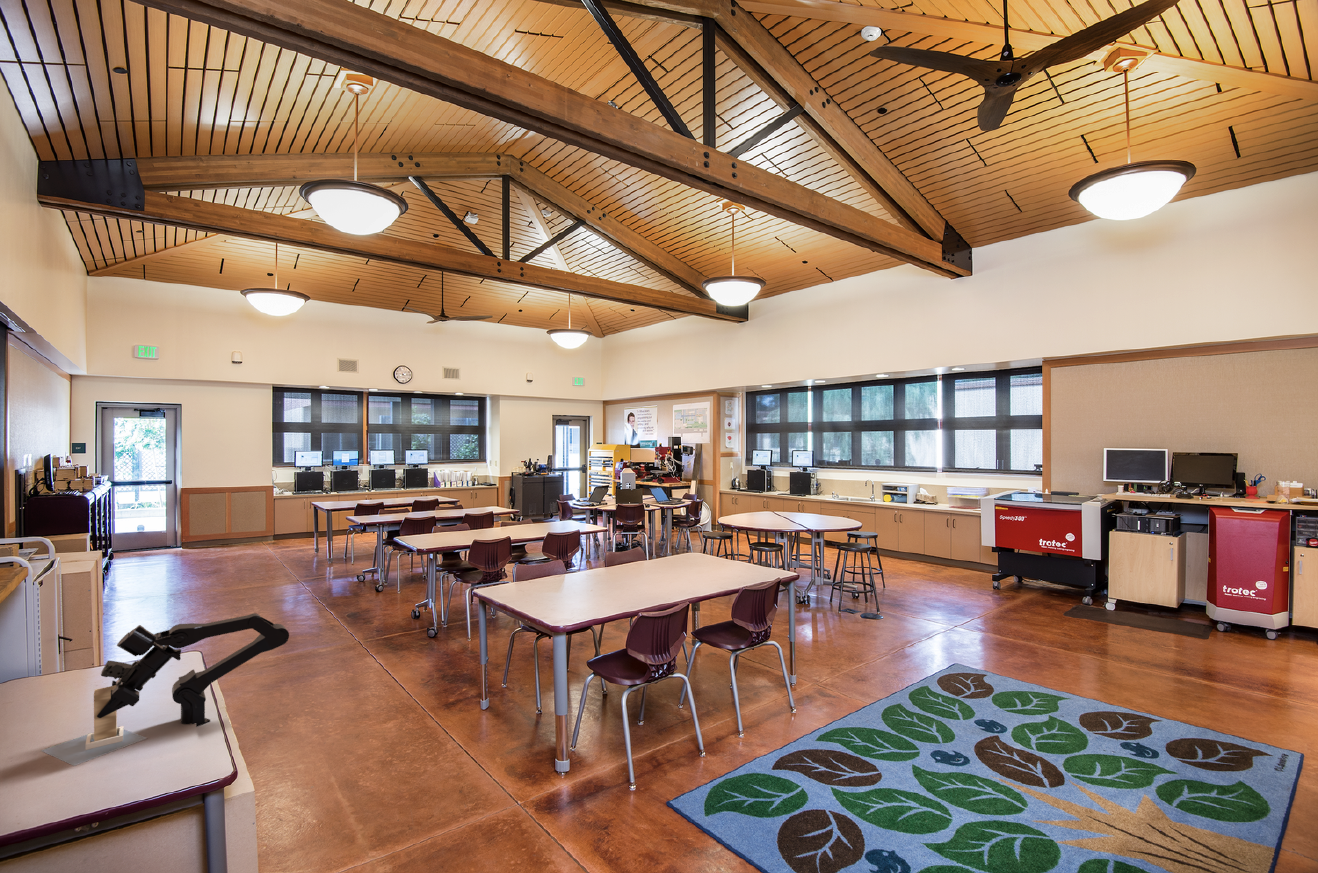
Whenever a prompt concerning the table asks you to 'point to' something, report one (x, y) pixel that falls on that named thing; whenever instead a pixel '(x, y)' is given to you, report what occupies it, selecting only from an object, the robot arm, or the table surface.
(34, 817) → the table surface
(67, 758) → the base board
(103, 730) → the maple pillar
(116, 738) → the socket frame
